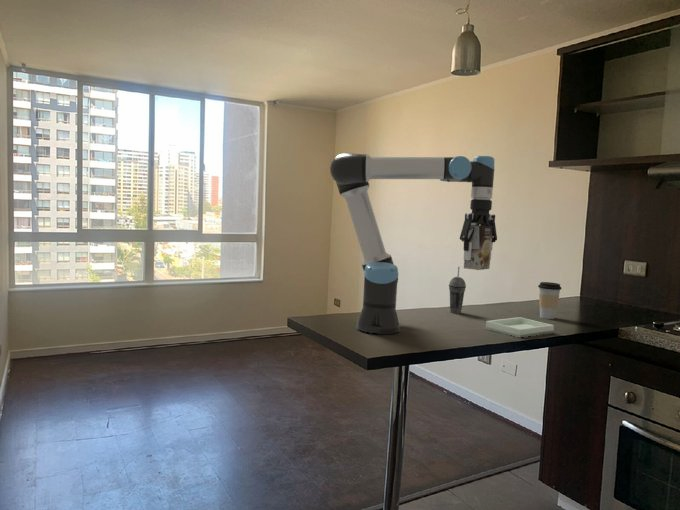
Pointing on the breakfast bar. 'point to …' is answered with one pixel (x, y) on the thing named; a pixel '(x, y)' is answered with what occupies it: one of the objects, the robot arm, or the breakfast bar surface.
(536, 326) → the sage tray
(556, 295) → the coffee cup
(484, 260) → the coffee box
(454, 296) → the beverage cup
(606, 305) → the breakfast bar surface
